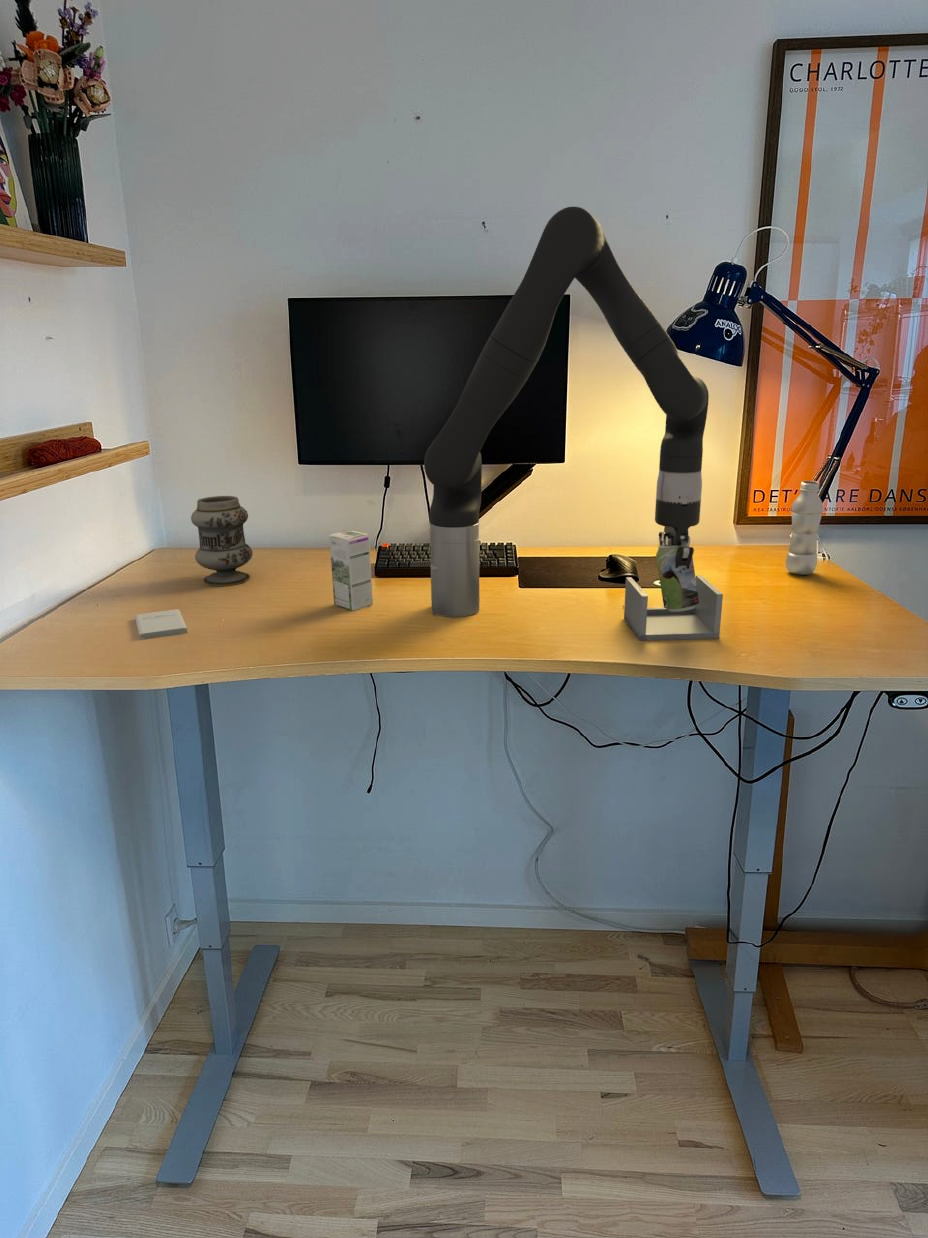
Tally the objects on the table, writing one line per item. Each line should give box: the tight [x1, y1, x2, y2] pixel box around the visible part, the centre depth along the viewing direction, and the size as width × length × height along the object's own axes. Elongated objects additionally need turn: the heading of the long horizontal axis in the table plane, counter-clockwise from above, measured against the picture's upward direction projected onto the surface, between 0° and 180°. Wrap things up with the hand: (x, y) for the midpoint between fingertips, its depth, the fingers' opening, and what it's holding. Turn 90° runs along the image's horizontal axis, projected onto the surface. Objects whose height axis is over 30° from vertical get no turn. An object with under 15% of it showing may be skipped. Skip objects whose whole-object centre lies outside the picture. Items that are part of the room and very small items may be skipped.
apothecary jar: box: [190, 495, 253, 587], centre depth 188 cm, size 12×12×18 cm
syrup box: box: [328, 529, 374, 611], centre depth 170 cm, size 6×6×14 cm
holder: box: [623, 574, 724, 641], centre depth 156 cm, size 14×12×8 cm
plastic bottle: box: [785, 480, 824, 576], centre depth 187 cm, size 6×7×20 cm
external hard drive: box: [134, 608, 188, 639], centre depth 162 cm, size 2×8×12 cm
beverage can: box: [655, 545, 699, 612], centre depth 152 cm, size 6×7×12 cm
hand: (672, 592), depth 155 cm, fingers closed on beverage can
